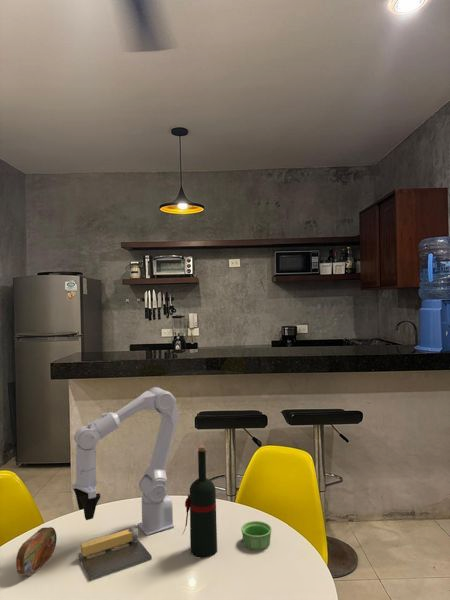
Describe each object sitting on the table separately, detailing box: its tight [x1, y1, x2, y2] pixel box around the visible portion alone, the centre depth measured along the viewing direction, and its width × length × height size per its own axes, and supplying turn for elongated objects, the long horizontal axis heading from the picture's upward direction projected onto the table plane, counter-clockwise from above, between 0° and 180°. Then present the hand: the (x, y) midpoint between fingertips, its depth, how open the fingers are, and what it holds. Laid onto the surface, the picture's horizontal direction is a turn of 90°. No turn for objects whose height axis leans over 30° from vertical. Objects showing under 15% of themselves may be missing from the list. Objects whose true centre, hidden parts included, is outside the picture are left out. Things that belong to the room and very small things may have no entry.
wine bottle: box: [181, 445, 218, 559], centre depth 128 cm, size 8×10×30 cm
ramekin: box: [241, 520, 273, 551], centre depth 131 cm, size 9×9×4 cm
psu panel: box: [77, 538, 153, 582], centre depth 124 cm, size 17×13×2 cm
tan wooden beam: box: [80, 527, 139, 556], centre depth 128 cm, size 16×3×2 cm, turn 122°
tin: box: [15, 526, 58, 577], centre depth 122 cm, size 15×3×8 cm, turn 168°
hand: (85, 513), depth 131 cm, fingers open, 7 cm apart
